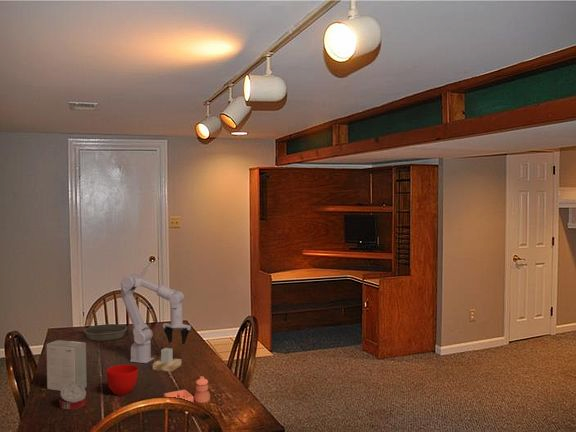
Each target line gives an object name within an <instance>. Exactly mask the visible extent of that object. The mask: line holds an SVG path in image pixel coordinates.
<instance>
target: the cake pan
mask: <svg viewBox="0 0 576 432" xmlns="http://www.w3.org/2000/svg"><path fill="white" fill-rule="evenodd" d="M127 329H128V326H127V325H124V324H120V323H118V324H117V323H107V324H106V323H105V324H98V325H93V326H90V327H87V328H85V329H84V330H83V332H84V333H85V336H86V338H87V340H91V341H112V340H117V339H120V338H124V336H125V335H126V334H125V333H126V331H127Z"/></svg>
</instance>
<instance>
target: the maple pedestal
mask: <svg viewBox="0 0 576 432" xmlns="http://www.w3.org/2000/svg"><path fill="white" fill-rule="evenodd" d="M180 367H182V359H181V358H173V361H171V362H170V363H163V362H161V358H160V359H158V360H156V361H154V362H153V363H152V370H154V371H164V372H173V371H175V370H176V369H178V368H180Z"/></svg>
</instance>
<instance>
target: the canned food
mask: <svg viewBox="0 0 576 432" xmlns="http://www.w3.org/2000/svg"><path fill="white" fill-rule="evenodd" d="M86 396H87V391H86V388H84V387H83V386H82V385H81V384H80V383H78V382H73V381H72V382H69V383H67V384H66V385H64V386H63V388H62V389H61V391H60V398H59V406H60V407H59V409H61V408H62V409H61V410H64V409H69V410H70V411H72V410H76V409H81V408H83V407H84V406H85V405H86V402H87V401H86ZM71 409H72V410H71ZM69 410H68V411H69Z"/></svg>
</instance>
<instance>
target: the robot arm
mask: <svg viewBox="0 0 576 432" xmlns="http://www.w3.org/2000/svg"><path fill="white" fill-rule="evenodd" d="M139 287H143V288H146V289H148V290H151V291H153V292H155V293H156V295H157V296H158V297H160V298H162V299H165V300H166V301H168V302H169V303H170V323H169V322H168V323H163V324H162V325H163V326H162V328H163V332H164V333H165V335H166V337H167V341H168V343H169V344H171V343H172V342H173V330H175V329H176V330H180V335H181V344H182V345H185V344H186V341H187V337H188V335H189V333H190V331H191V327H192V326H191V325H189V324H185V323H183V321H184V320H183V319H184V318H183V316H184V313H183V309H184V308H183V301H184V299H185V295H184V293H183V292H182V291H180V290H177V291H176V289H172V288H170V287H168V285H166V284H165V285H164V284H163V285H158V284H156V283H154V281H151V280H149V279H147V278H145V277H144V276H143V275H139V274H138V273H133V274H130V275H127V276H124V277H123V278H122V280H121V282H120V296H121V299H122V302H123V304H124V306H125V309H126V311H127V315H128V317H129V318H130V321H131V323H132V325H133V329H132V334H133V343H132V344H131V346H130V360H129V361H130V362H131V363H133V362H134V363H142V364H147V363H150V362H151V361H153V360H154V359H155V357H152V354H151V353H152V351H151V350H152V349H151V348H152V345H151V343H152V342H151V341H152V338H153V331H152V329H150V327H149V325H148V324H147V323H145V321H144V320H143V316H142V314H141V312H140V309H139V307H138V304H137V301H136V299H135V297H134V292H135V290H136V289H137V288H139Z"/></svg>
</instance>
